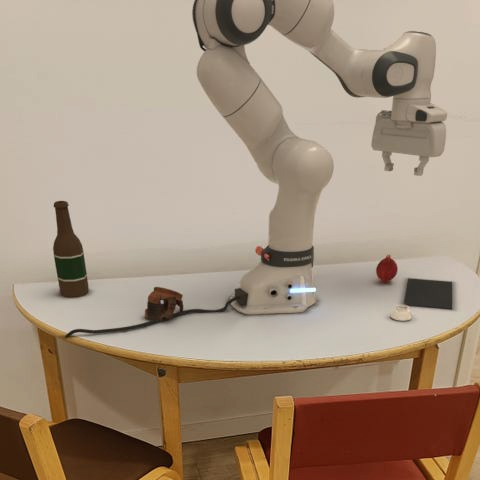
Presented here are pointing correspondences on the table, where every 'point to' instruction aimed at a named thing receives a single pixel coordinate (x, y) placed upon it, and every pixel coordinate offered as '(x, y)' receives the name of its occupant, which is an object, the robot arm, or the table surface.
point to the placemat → (429, 293)
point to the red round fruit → (386, 269)
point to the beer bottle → (69, 255)
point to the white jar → (401, 313)
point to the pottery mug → (169, 305)
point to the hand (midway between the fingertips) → (403, 173)
